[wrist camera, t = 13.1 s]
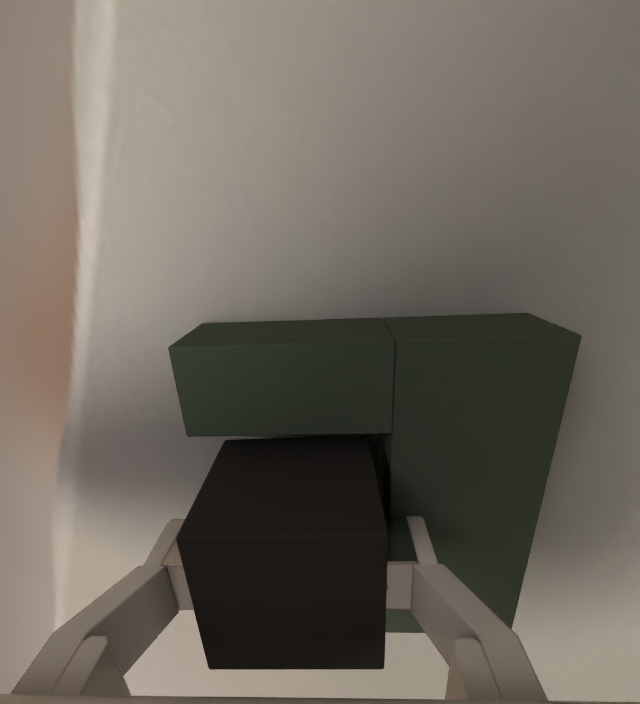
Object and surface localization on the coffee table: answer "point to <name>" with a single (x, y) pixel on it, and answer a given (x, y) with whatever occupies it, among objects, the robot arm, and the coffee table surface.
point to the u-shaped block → (406, 419)
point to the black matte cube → (289, 556)
